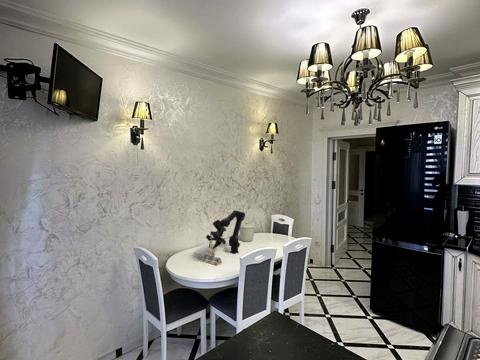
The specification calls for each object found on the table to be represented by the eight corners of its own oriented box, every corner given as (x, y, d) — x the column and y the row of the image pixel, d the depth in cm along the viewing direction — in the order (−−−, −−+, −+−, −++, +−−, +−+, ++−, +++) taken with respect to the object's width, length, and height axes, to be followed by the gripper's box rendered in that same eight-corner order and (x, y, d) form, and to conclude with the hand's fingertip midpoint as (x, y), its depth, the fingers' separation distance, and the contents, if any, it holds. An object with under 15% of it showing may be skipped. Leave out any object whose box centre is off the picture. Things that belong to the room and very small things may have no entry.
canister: (255, 238, 295) (255, 219, 294) (254, 243, 277) (255, 223, 276) (239, 237, 297) (239, 219, 296) (237, 242, 279) (238, 222, 278)
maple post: (214, 254, 223) (214, 239, 222) (215, 256, 219) (215, 240, 219) (209, 255, 222) (209, 239, 221) (210, 256, 218) (210, 241, 217)
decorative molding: (215, 249, 266) (206, 245, 268) (216, 244, 265) (207, 241, 267) (202, 260, 232) (192, 256, 235) (204, 255, 232) (194, 251, 234)
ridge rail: (202, 261, 223) (202, 255, 223) (207, 259, 228) (207, 253, 228) (217, 265, 214) (217, 259, 214) (221, 263, 219) (221, 257, 219)
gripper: (207, 225, 228) (198, 241, 219) (224, 229, 217) (215, 245, 209) (213, 232, 235) (204, 248, 226) (229, 236, 224) (221, 252, 216)
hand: (211, 248), depth 219 cm, fingers closed on maple post, 4 cm apart
